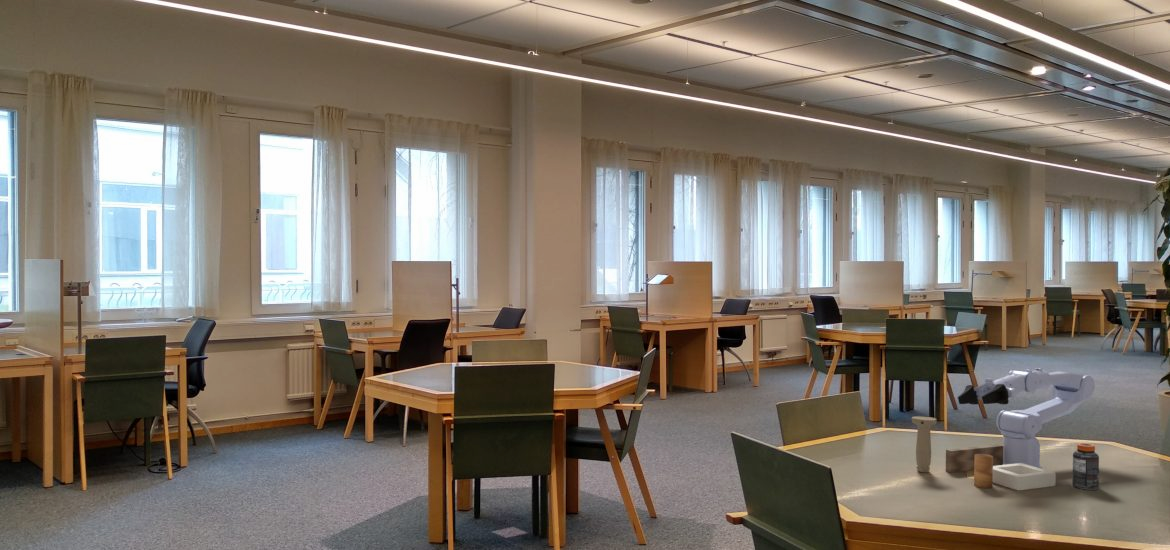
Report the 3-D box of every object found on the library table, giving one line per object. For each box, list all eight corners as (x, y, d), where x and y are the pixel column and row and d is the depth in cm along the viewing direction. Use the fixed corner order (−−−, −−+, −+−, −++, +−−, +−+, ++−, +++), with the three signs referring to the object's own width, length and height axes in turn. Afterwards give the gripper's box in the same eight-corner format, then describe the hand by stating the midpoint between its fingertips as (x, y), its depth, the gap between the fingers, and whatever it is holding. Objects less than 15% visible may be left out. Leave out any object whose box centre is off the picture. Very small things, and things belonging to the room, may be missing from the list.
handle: (933, 475, 236) (934, 421, 236) (909, 471, 240) (910, 418, 239) (937, 471, 240) (937, 418, 240) (913, 468, 244) (913, 415, 243)
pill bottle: (1095, 485, 226) (1096, 442, 226) (1101, 491, 221) (1102, 447, 221) (1070, 483, 228) (1071, 441, 228) (1074, 488, 223) (1075, 445, 222)
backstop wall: (997, 465, 247) (997, 444, 247) (1003, 466, 245) (1003, 445, 245) (945, 470, 241) (945, 449, 241) (950, 472, 239) (951, 451, 239)
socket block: (1021, 475, 236) (1021, 462, 236) (1055, 485, 226) (1055, 472, 226) (984, 479, 231) (984, 466, 231) (1017, 490, 221) (1018, 477, 221)
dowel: (983, 482, 228) (983, 453, 228) (996, 487, 224) (996, 456, 224) (970, 484, 227) (970, 454, 227) (983, 488, 223) (983, 458, 222)
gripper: (977, 375, 248) (946, 386, 241) (1022, 374, 235) (991, 385, 228) (982, 399, 247) (951, 411, 241) (1028, 399, 235) (997, 411, 228)
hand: (971, 400), depth 235 cm, fingers open, 7 cm apart
